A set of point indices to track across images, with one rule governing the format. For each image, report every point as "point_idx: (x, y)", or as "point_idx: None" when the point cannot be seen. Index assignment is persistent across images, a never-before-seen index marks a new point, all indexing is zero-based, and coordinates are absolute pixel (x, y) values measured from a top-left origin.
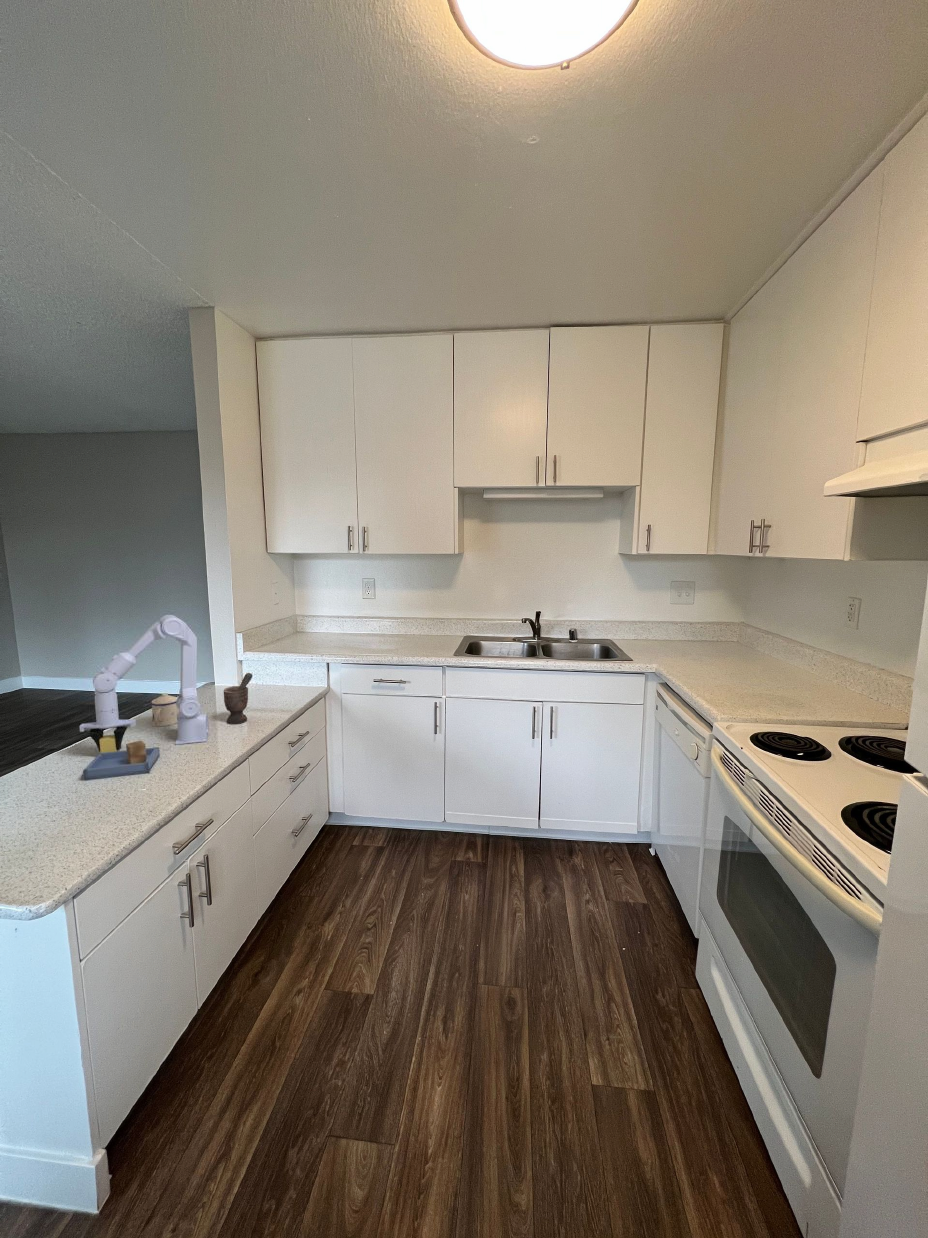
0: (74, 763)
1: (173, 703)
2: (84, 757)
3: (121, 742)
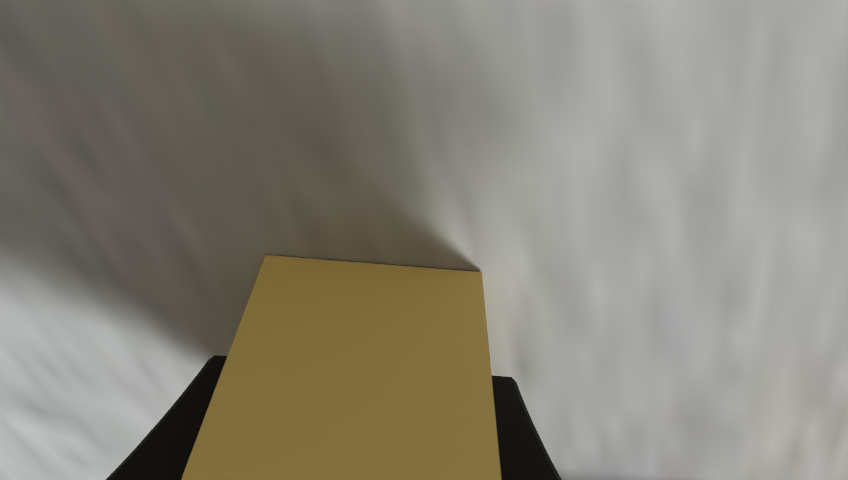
0: (10, 446)
1: None
2: (10, 307)
3: (543, 457)
